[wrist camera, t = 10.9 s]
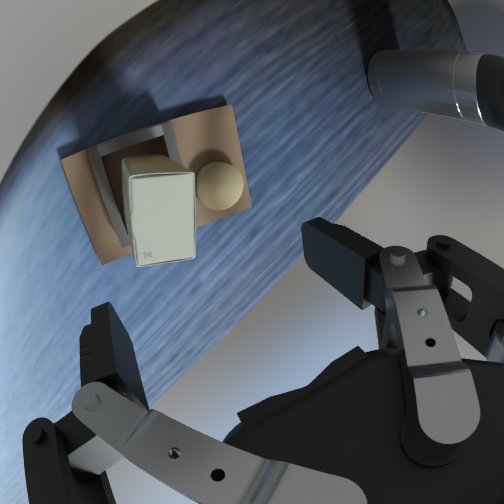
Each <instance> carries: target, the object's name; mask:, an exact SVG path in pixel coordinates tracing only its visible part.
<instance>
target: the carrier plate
mask: <svg viewBox="0 0 504 504" xmlns="http://www.w3.org/2000/svg"><path fill="white" fill-rule="evenodd" d="M148 154H163V155H164V156H166V157H168V158H170V159H172V160H173V161H175V162H177V163H178V164H180V165H182V166H184V167H185V168H187V169H189V170H191V171H192V172H194V174H195V202H196V228H197V227H199V226H202V225H205V224H207V223H210V222H213V221H215V220H218V219H221V218H223V217H226V216H229V215H232V214H234V213H237V212H240V211H243V210H245V209H248V208H251V207H252V205H251V200H250V195H249V190H248V185H247V179H246V174H245V169H244V164H243V159H242V153H241V148H240V143H239V138H238V133H237V128H236V123H235V118H234V112H233V107H232V105H224V106H220V107H215V108H211V109H207V110H203V111H199V112H195V113H191V114H187V115H184V116H180V117H177V118H173V119H170V120H166V121H163V122H159V123H156V124H153V125H150V126H147V127H144V128H140V129H137V130H134V131H132V132H129V133H126V134H123V135H120V136H117V137H114V138H112V139H109V140H106V141H104V142H101V143H99V144H96V145H93V146H91V147H88V148H86V149H83V150H81V151H79V152H76V153H74V154H72V155H69V156H67V157H65V158H63V159H62V160H61V161H62V164H63V168H64V171H65V173H66V176H67V179H68V182H69V185H70V188H71V191H72V193H73V196H74V199H75V201H76V204H77V207H78V209H79V212H80V214H81V217H82V219H83V222H84V224H85V227H86V229H87V232H88V234H89V236H90V239H91V241H92V243H93V246H94V248H95V250H96V252H97V255H98V257H99V259H100V261H101V263H102V265H104V264H106V263H109V262H111V261H113V260H116V259H118V258H121V257H123V256H126V255H128V254H130V253H133V252H132V248H131V244H130V239H129V235H128V230H127V226H126V221H125V216H124V209H123V199H122V186H121V158H122V157H124V156H133V155H148Z"/></svg>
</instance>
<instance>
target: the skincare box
mask: <svg viewBox="0 0 504 504" xmlns="http://www.w3.org/2000/svg"><path fill="white" fill-rule="evenodd" d="M121 186H122V199H123V209H124V216H125V221H126V226H127V230H128V235H129V239H130V244H131V248H132V252H133V256H134V260H135V264H136V266H137V267H142V266H150V265H157V264H164V263H171V262H177V261H183V260H188V259H193V258H195V255H196V202H195V174H194V172H192V171H191V170H189V169H187V168H185V167H184V166H182V165H180V164H178V163H177V162H175V161H173V160H172V159H170V158H168V157H166V156H164V155H163V154H148V155H133V156H124V157H122V158H121Z"/></svg>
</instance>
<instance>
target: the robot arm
mask: <svg viewBox="0 0 504 504" xmlns="http://www.w3.org/2000/svg"><path fill="white" fill-rule="evenodd" d="M367 74H368V83H369V87H370V90H371V92H372V94H373V96H374V98H375V99H376V100H377V101H378V102H379V103H380V104H381V105H383V106H385V107H391V108H399V109H406V110H412V111H418V112H424V113H430V114H435V115H441V116H446V117H451V118H456V119H460V120H465V121H470V122H474V123H478V124H482V125H485V126H489V127H493V128H497V129H500V130H502V131H504V58H503V57H501V56H497V55H491V54H482V53H471V52H459V51H444V50H382V51H378V52H376V53H375V54H374V55H373V56H372V58H371V59H370V61H369V65H368V72H367ZM301 230H302V240H303V249H304V257H305V260H306V263H307V265H308V266H309V267H310V269H312V270H313V271H314V272H315V273H316V274H318V275H319V276H320V277H322V278H323V279H324V280H325V281H327V282H328V283H329V284H331V285H332V286H333V287H334V288H335V289H337V290H338V291H339V292H340V293H342V294H343V295H344V296H345V297H347V298H348V299H349V300H350V301H351V302H353V303H354V304H355V305H357V306H358V307H359V308H360V309H361V310H363V309H365V308H367V307H368V306H370V305H371V304H373V305H374V306H375V310H374V314H375V321H376V329H377V337H378V346H379V350H373V351H369V352H366V353H365V352H364V351H363V350H362V349H361V348H360V347H359V346H357V347H355V348H354V349H352V350H350V351H349V352H347V353H346V354H344V355H343V356H341V357H339V358H338V359H336V360H334V361H333V362H331V363H330V365H328V366H327V367H326V368H325V369H324V371H322V372H321V374H319V375H318V376H317V377H316V378H315V379H314V380H313V381H312V382H311V383H310V384H309V385H307V386H305V387H303V388H300V389H296V390H293V391H289V392H286V393H282V394H279V395H275V396H271V397H269V398H267V399H265V400H263V401H261V402H259V403H257V404H255V405H253V406H250V407H248V408H247V409H244V410H242V411H240V412H238V413H237V415H238V417H239V419H240V421H241V422H240V423H239V424H238V425H237V426H235V427H234V428H233V429H232V430H231V431H230V432H229V433H228V435H227V436H226V437H225V439H224V440H223V442H221V441H219V440H216V439H214V438H212V437H209V436H207V435H205V434H203V433H201V432H199V431H196V430H194V429H192V428H190V427H188V426H186V425H184V424H182V423H180V422H178V421H176V420H174V419H172V418H170V417H168V416H166V415H165V414H163V413H161V412H159V411H157V410H154V409H151V410H149V407H148V403H147V400H146V396H145V392H144V389H143V385H142V381H141V377H140V373H139V369H138V365H137V361H136V357H135V352H134V348H133V344H132V341H131V339H130V337H129V334H128V332H127V331H126V329H125V327H124V326H123V324H122V322H121V320H120V319H119V317H118V315H117V313H116V312H115V310H114V308H113V306H112V305H111V303H110V302H106V303H104V304H101V305H99V306H97V307H94V308H92V309H91V324H89V325H86V326H84V328H83V330H82V333H81V335H80V376H81V388H80V389H79V390H78V391H77V392H76V394H75V396H74V398H73V400H72V411H71V412H70V413H68V414H67V415H66V416H64V417H63V418H61V419H60V420H59V421H57V422H56V423H52V422H51V421H50V420H49V419H47V418H43V417H42V418H37V419H35V420H33V421H32V422H31V423H29V425H28V426H27V427H26V429H25V431H24V434H23V456H24V468H25V477H26V485H27V492H28V499H29V504H116V502H115V499H114V496H113V493H112V490H111V487H110V483H109V480H108V477H107V473H106V469H108V468H109V467H111V466H112V465H114V464H115V463H116V462H118V461H119V460H120V459H122V458H123V457H125V458H126V459H128V460H129V461H131V462H132V463H133V464H135V465H137V466H138V467H139V468H141V469H142V470H144V471H145V472H147V473H148V474H150V475H151V476H153V477H154V478H156V479H157V480H159V481H161V482H162V483H164V484H165V485H167V486H169V487H170V488H172V489H174V490H175V491H177V492H179V493H180V494H182V495H184V496H186V497H188V498H190V499H191V500H193V501H195V502H197V503H199V504H504V269H503V268H501V267H500V266H498V265H497V264H495V263H493V262H492V261H490V260H489V259H487V258H485V257H483V256H482V255H480V254H479V253H477V252H475V251H474V250H472V249H470V248H469V247H467V246H465V245H463V244H462V243H460V242H458V241H456V240H455V239H453V238H451V237H448V236H444V235H436V236H433V237H430V238H429V239H428V242H427V250H423V251H419V252H415V253H413V252H412V251H411V250H410V249H408V248H405V247H401V246H390V247H386V248H383V247H381V246H379V245H378V244H376V243H374V242H372V241H371V240H369V239H367V238H365V237H363V236H361V235H360V234H358V233H356V232H354V231H353V230H351V229H349V228H347V227H345V226H342V225H338V224H334V223H333V224H332V223H330V222H328V221H327V220H325V219H323V218H321V217H317V218H314V219H312V220H309V221H307V222H304V223H303V224H302V226H301ZM453 277H455V278H457V279H458V280H460V281H462V282H463V283H464V284H466V285H467V286H469V288H470V289H471V291H472V300H471V302H470V301H468V300H467V299H466V298H464V297H463V296H462V295H460V294H459V293H457V292H456V291H455V290H453V289H452V288H451V285H452V281H453ZM452 330H454V331H455V332H456V333H457V334H459V335H460V336H461V337H462V338H463V339H465V340H466V341H467V342H468V343H469V344H471V345H472V346H473V347H474V348H475V349H476V350H478V351H479V352H480V353H481V354H482V355H483V356H485V357H486V359H487V361H480V360H471V359H463V358H461V357H460V353H459V350H458V347H457V343H456V340H455V337H454V334H453V331H452Z"/></svg>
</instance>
